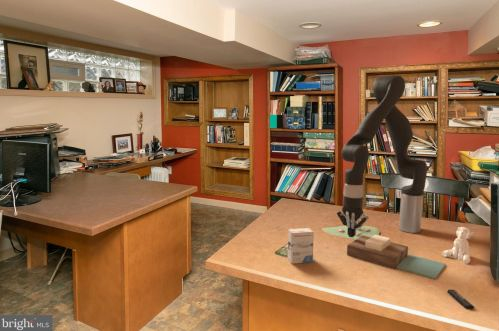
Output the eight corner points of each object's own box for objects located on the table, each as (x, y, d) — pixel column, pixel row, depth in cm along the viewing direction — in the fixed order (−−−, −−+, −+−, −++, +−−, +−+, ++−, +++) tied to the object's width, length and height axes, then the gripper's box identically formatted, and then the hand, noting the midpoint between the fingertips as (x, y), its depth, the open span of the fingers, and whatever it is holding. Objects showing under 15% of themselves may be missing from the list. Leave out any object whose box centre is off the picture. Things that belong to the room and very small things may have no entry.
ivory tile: (374, 240, 137) (374, 234, 137) (389, 244, 133) (390, 238, 133) (365, 247, 130) (365, 240, 130) (380, 251, 126) (381, 244, 126)
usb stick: (475, 310, 96) (475, 305, 96) (465, 310, 96) (466, 305, 96) (454, 293, 106) (455, 288, 106) (446, 293, 106) (446, 288, 105)
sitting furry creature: (440, 256, 132) (443, 226, 130) (451, 250, 137) (453, 221, 135) (467, 264, 124) (471, 233, 122) (477, 258, 129) (481, 228, 127)
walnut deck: (362, 244, 143) (362, 235, 143) (407, 256, 132) (408, 246, 131) (346, 254, 133) (347, 245, 132) (394, 268, 121) (395, 258, 121)
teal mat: (408, 255, 132) (408, 254, 132) (445, 265, 124) (445, 263, 124) (396, 268, 122) (396, 266, 122) (435, 279, 114) (435, 277, 113)
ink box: (308, 256, 132) (309, 227, 130) (313, 262, 127) (314, 231, 125) (287, 258, 130) (287, 228, 128) (290, 263, 125) (291, 233, 124)
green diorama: (328, 241, 149) (329, 221, 147) (319, 225, 169) (319, 207, 168) (386, 241, 149) (387, 220, 147) (369, 225, 169) (370, 207, 168)
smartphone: (273, 252, 134) (292, 240, 146) (273, 255, 135) (292, 242, 147) (290, 257, 130) (308, 244, 142) (290, 260, 130) (308, 246, 142)
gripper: (373, 195, 134) (371, 238, 137) (342, 190, 143) (340, 230, 146) (365, 199, 129) (363, 243, 131) (333, 193, 137) (331, 235, 140)
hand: (351, 236), depth 139 cm, fingers closed
